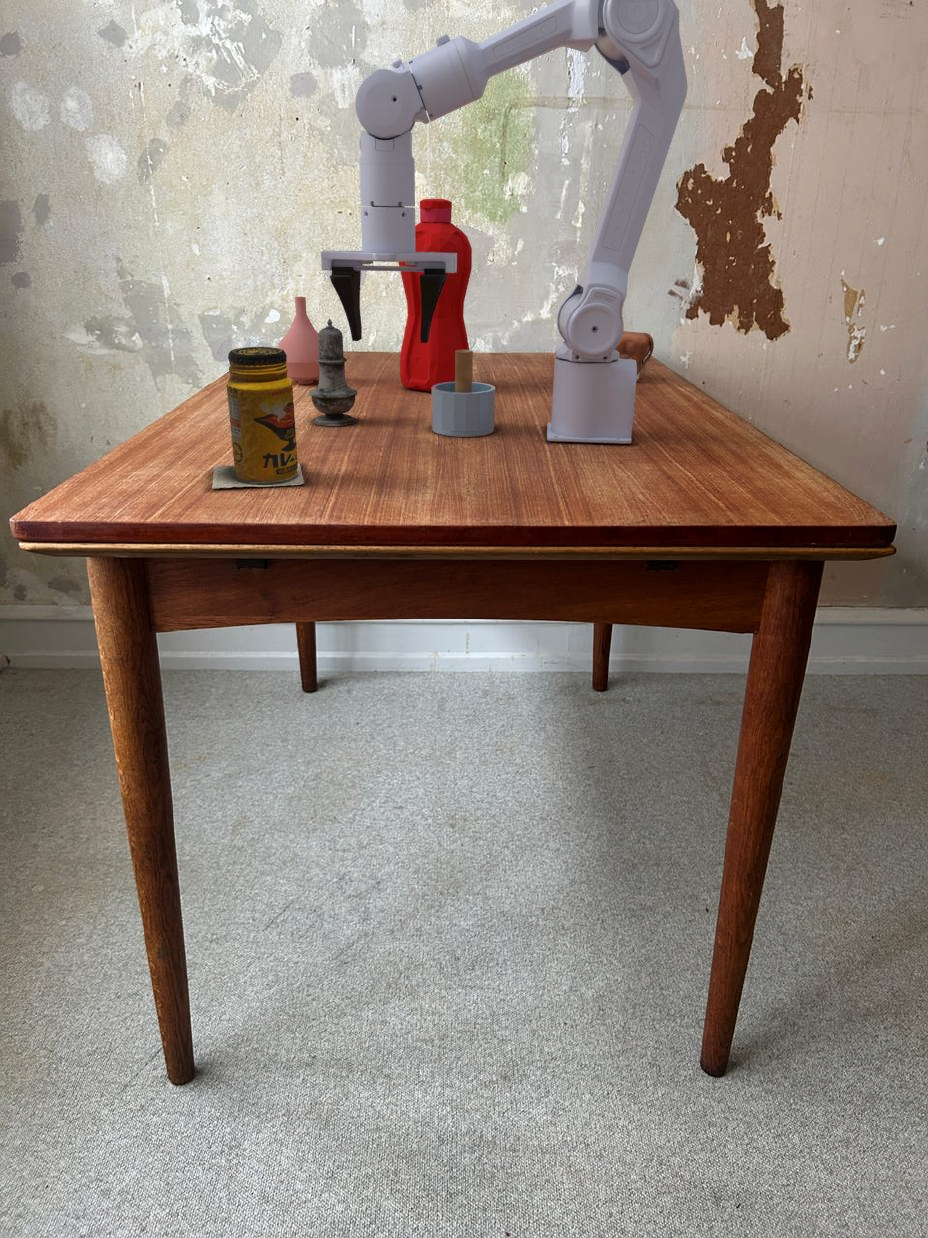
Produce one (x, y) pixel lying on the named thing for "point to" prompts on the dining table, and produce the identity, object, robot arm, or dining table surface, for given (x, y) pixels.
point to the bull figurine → (636, 349)
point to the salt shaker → (332, 381)
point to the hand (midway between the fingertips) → (390, 340)
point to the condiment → (260, 421)
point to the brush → (463, 371)
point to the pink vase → (301, 346)
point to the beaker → (463, 410)
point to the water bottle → (447, 330)
